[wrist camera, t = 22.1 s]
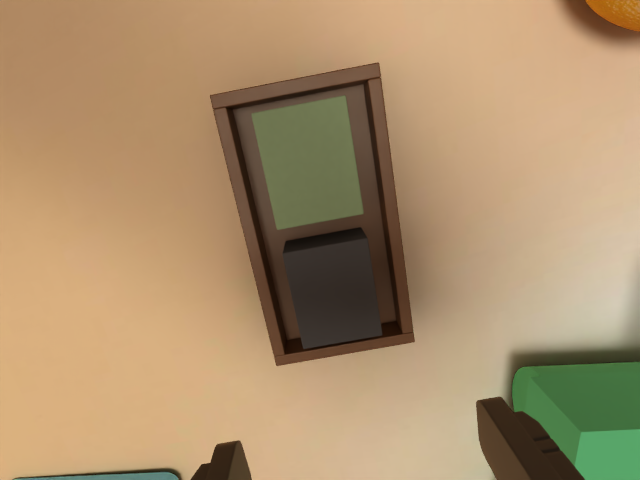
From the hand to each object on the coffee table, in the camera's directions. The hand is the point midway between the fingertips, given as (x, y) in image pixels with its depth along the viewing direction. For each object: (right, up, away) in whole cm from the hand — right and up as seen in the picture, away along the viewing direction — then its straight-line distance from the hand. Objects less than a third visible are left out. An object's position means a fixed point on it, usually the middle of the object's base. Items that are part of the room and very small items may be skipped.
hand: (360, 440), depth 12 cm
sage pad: (-2, +12, +12) cm, 17 cm away
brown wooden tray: (-1, +8, +14) cm, 16 cm away
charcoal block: (0, +4, +15) cm, 15 cm away
